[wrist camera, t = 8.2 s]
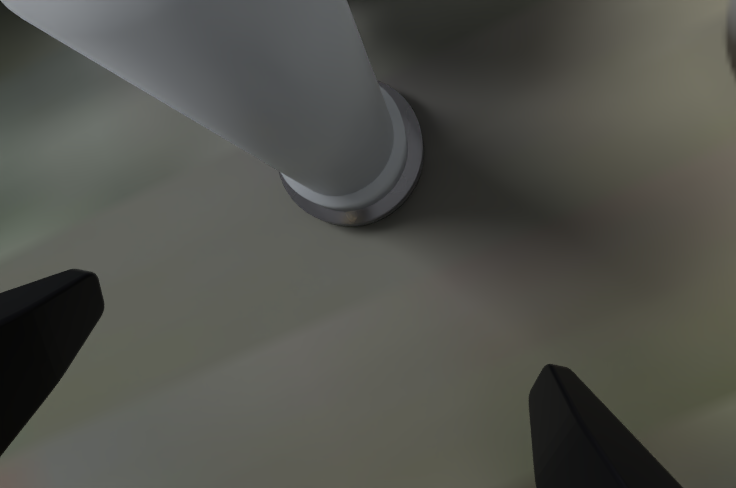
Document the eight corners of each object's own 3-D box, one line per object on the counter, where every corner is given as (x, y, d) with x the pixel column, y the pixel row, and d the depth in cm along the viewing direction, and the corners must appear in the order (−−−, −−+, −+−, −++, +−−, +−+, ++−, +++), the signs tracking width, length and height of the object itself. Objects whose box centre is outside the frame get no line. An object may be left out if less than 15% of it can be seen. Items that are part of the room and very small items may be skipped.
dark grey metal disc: (437, 208, 18) (437, 204, 17) (298, 240, 19) (290, 238, 18) (407, 69, 19) (405, 58, 18) (274, 108, 20) (265, 99, 19)
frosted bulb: (431, 171, 17) (382, -106, 5) (322, 233, 18) (22, 143, 5) (371, 68, 18) (189, -410, 5) (269, 131, 19) (-100, -157, 6)
